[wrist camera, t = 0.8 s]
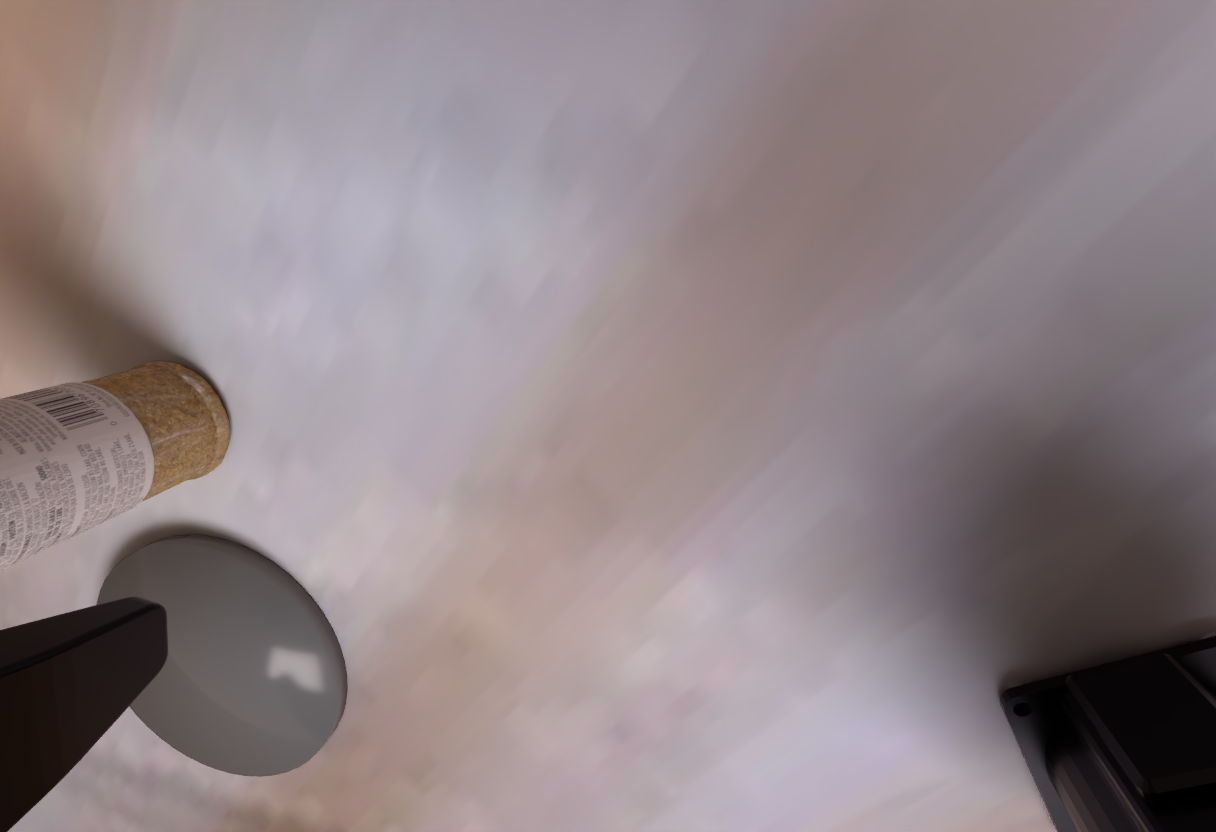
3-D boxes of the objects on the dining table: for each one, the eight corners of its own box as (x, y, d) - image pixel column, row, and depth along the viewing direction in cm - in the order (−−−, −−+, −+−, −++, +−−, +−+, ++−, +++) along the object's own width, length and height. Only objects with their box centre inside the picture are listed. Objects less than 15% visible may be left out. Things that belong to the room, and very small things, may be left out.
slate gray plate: (396, 725, 26) (385, 740, 25) (212, 785, 29) (198, 800, 29) (244, 494, 24) (229, 502, 23) (67, 586, 27) (48, 597, 27)
